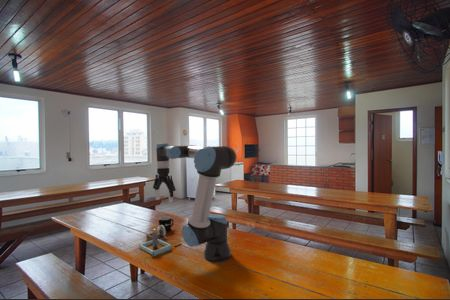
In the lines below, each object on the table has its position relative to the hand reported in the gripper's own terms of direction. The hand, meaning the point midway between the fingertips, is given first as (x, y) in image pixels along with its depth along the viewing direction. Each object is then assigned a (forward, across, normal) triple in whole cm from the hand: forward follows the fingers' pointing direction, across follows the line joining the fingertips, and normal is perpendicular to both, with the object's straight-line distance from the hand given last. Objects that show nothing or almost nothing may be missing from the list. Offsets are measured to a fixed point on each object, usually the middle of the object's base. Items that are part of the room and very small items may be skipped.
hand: (164, 200), depth 160 cm
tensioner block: (+28, +12, -1) cm, 30 cm away
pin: (+28, -1, +8) cm, 29 cm away
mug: (+28, +20, -16) cm, 38 cm away
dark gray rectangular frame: (+28, -1, -3) cm, 28 cm away
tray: (+28, -1, +8) cm, 29 cm away
